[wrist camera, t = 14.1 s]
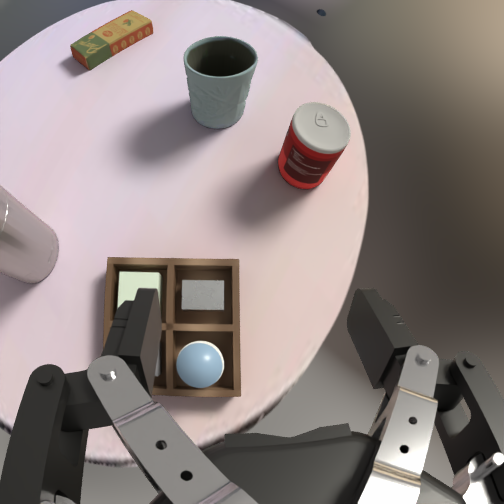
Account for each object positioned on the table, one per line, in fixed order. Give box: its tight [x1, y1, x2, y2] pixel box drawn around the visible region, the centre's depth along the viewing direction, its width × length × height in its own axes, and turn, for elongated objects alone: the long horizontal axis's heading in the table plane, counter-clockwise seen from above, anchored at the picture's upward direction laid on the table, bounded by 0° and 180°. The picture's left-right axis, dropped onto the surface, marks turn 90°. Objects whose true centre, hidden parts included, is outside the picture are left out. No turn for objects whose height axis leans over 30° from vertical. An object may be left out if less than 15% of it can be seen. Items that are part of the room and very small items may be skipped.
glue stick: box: [176, 341, 224, 388], centre depth 34 cm, size 5×5×10 cm
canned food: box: [278, 102, 351, 189], centre depth 42 cm, size 8×8×11 cm
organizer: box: [103, 257, 241, 397], centre depth 38 cm, size 16×16×4 cm
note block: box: [118, 272, 163, 316], centre depth 38 cm, size 5×5×3 cm
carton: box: [70, 10, 153, 70], centre depth 50 cm, size 8×16×4 cm, turn 136°
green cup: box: [184, 36, 258, 129], centre depth 43 cm, size 10×10×12 cm
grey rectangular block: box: [182, 280, 224, 312], centre depth 39 cm, size 5×4×2 cm
